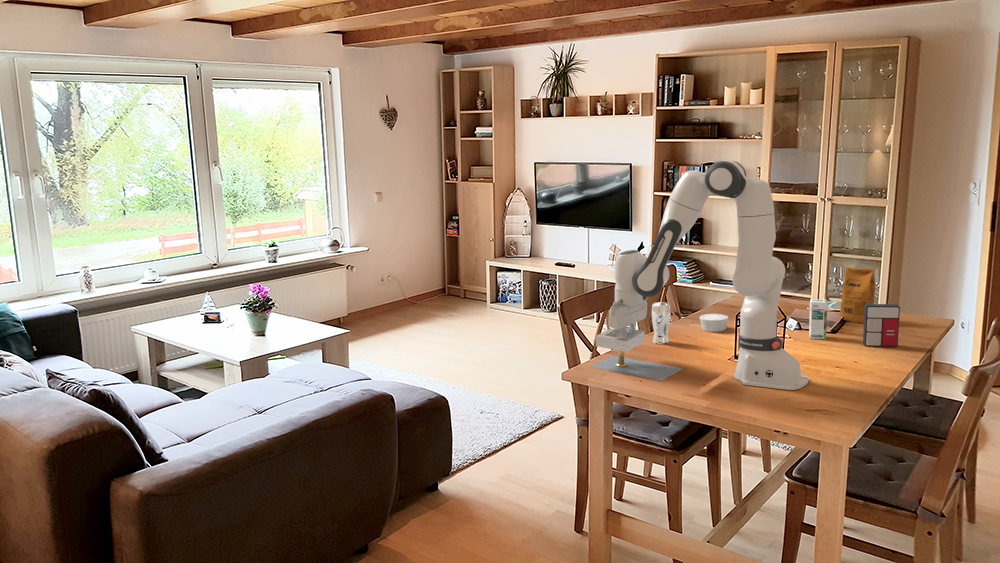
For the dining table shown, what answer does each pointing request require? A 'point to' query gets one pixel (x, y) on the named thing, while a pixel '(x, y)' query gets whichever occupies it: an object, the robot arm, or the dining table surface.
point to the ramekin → (714, 322)
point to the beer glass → (660, 322)
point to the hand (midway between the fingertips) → (627, 336)
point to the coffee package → (857, 293)
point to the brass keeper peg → (621, 359)
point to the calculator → (881, 325)
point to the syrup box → (818, 319)
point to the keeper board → (638, 368)
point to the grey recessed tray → (620, 339)
